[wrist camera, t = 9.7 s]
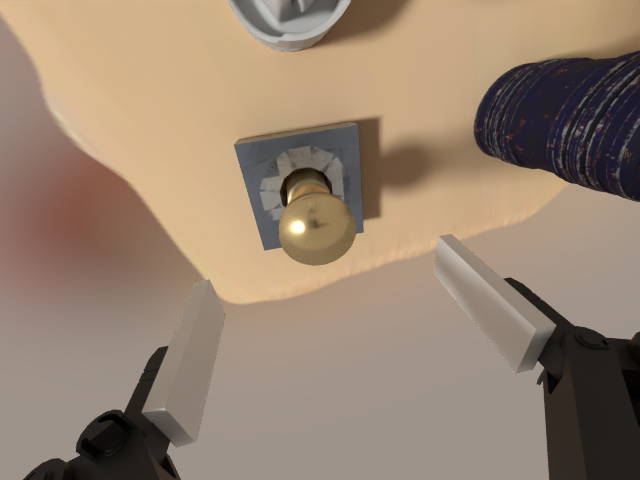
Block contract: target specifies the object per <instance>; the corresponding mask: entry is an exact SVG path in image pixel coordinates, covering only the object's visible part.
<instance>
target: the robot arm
mask: <svg viewBox="0 0 640 480" xmlns="http://www.w3.org/2000/svg"><path fill="white" fill-rule="evenodd" d="M434 275H435V276H436V277H437V278H438V279H439V281H440V282H441V283H442V284H443V286H444V287H445V288H446V289H447V290H448V292H449V293H450V294H451V295H452V296H453V298H454V299H455V300H456V301H457V303H458V304H459V305H460V306H461V307H462V309H463V310H464V311H465V312H466V314H467V315H468V316H469V317H470V318H471V319H472V321H473V322H474V323H475V325H476V326H477V327H478V328H479V329H480V331H481V332H482V333H483V334H484V336H485V337H486V338H487V339H488V340H489V342H490V343H491V344H492V345H493V346H494V348H495V349H496V350H497V351H498V353H499V354H500V355H501V356H502V357H503V359H504V360H505V361H506V362H507V364H508V365H509V366H510V367H511V368H512V370H513V371H514V372H515V373H519V372H524V371H528V370H533V368H534V367H535V365H536V363H537V361H539V362H540V363H541V365H543V367H544V370H543V372H542V373H541V375H540V376H539V378H538V381H537V384H538V385H540V384H541V383H542V381H543V388H544V404H545V420H546V436H547V452H548V467H549V480H640V332H638V333H636V334H635V335H634V337H633V338H632V339H631V340H628V339H616V338H606V337H604V336H603V335H601V334H599V333H598V332H596V331H594V330H591V329H588V328H585V327H579V326H574V325H573V324H571V323H570V322H569V321H568V320H566V319H565V318H564V317H563V316H561V315H560V314H559V313H558V312H556V311H555V310H554V309H553V308H552V307H551V306H549V305H548V304H547V303H546V302H544V301H543V300H541V299H540V297H538V296H537V295H536V294H535V293H532V291H531V290H530V289H529V288H527V287H526V286H525V285H524V284H522V283H520V282H518V281H516V280H514V279H512V278H505V279H503V278H501V277H500V276H499V275H498V274H497V273H496V272H494V271H493V270H492V269H491V268H490V267H489V266H487V265H486V264H485V263H484V262H483V261H482V260H481V259H479V258H478V257H477V256H476V255H475V254H474V253H473V252H471V251H470V250H469V249H468V248H467V247H466V246H464V245H463V244H462V243H461V242H460V241H459V240H458V239H456V238H455V237H454V236H453V235H452V234H450V235H444V236H439V238H438V245H437V253H436V260H435V269H434ZM224 319H225V312H224V310H223V308H222V305H221V303H220V301H219V299H218V297H217V294H216V292H215V290H214V288H213V286H212V284H211V281H210V280H204V281H199V282H195V285H194V287H193V290H192V292H191V295H190V297H189V299H188V302H187V304H186V306H185V309H184V311H183V314H182V316H181V318H180V321H179V323H178V326H177V328H176V331H175V333H174V336H173V338H172V340H171V343H170V345H169V346H166V347H161V348H158V349H157V350H156V352H155V353H154V354H153V355H152V356H151V358H150V359H149V360H148V363H147V365H146V367H145V369H144V373H142V376H141V378H140V380H139V383H138V384H137V386H136V388H135V390H134V393H133V395H132V397H131V399H130V401H129V403H128V405H127V408H126V410H125V412H124V413H123V412H122V411H121V410H111V411H107V412H105V413H103V414H102V415H100V416H99V417H97V418H96V419H94V420H93V421H92V422H91V423H90V424H89V425H88V426H87V427H86V429H85V430H84V431H83V432H82V434H81V435H80V437H79V439H78V442H77V445H76V452H77V453H79V454H80V456H78V457H76V458H74V459H72V460H70V461H69V462H67V463H66V462H64V461H63V460H61V459H60V458H56V459H51V460H48V461H46V462H44V463H42V464H40V465H39V466H38V467H36V468H35V469H34V470H32V471H31V472H30V473H29V474H28V475H27V476H26V477H25V478H24V479H23V480H181V479H180V477H179V475H178V473H177V470H176V468H175V466H174V464H173V462H172V460H171V458H170V456H169V455H168V454H167V449H168V446H169V443H170V442H172V444H174V446H176V447H180V446H185V445H190V444H194V443H196V442H197V437H198V433H199V429H200V424H201V420H202V416H203V411H204V407H205V403H206V398H207V394H208V389H209V385H210V381H211V376H212V372H213V367H214V363H215V359H216V354H217V349H218V345H219V341H220V336H221V332H222V327H223V323H224Z"/></svg>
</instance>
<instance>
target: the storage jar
mask: <svg viewBox="0 0 640 480" xmlns="http://www.w3.org/2000/svg"><path fill="white" fill-rule="evenodd" d="M474 136H475V140H476V143H477V145H478V147H479V148H480V149H481V150H482V151H483V152H484V153H485V154H487V155H489V156H492V157H495V158H499V159H501V160H502V161H504V162H507V163H510V164H513V165H517V166H520V167H525V168H530V169H542V170H545V171H549V172H552V173H554V174H555V175H557V176H558V177H559V178H562V179H563V180H565V181H567V182H570V183H574V184H578V185H580V186H583V187H586V188H589V189H592V190H596V191H601V192H607V193H610V194H614V195H618V196H620V197H623V198H626V199H629V200H632V201H636V202H640V51H636V52H633V53H628V54H625V55H622V56H620V57H617V58H608V59H597V60H594V59H590V58H571V59H554V60H547V61H543V62H540V63H529V64H523V65H520V66H517V67H514V68H513V69H511V70H509V71H507V72H506V73H505V74H503V75H502V76H501V77H499V78H498V79H497V80H496V81H495V82H494V83H493V85H492V86H491V87H490V88H489V89H488V91H487V92H486V94H485V95H484V97H483V99H482V101H481V102H480V105H479V107H478V110H477V112H476V116H475V121H474Z"/></svg>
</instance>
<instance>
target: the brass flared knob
mask: <svg viewBox="0 0 640 480" xmlns="http://www.w3.org/2000/svg"><path fill="white" fill-rule="evenodd" d="M287 200H288V205H287V206H286V207H285V209H284V210H283V212H282V214H281V217H280V221H279V239H280V243H281V245H282V247H283V249H284V251H285V252H286V253H287V254H288V255H289V256H290V257H291V258H292V259H294V260H296V261H298V262H300V263H303V264H307V265H324V264H328V263H331V262H333V261H335V260H337V259H339V258H340V257H341V256H343V255H344V254H345V253H346V252H347V251H348V250H349V248H350V247H351V245H352V244H353V241H354V239H355V235H356V223H355V219H354V217H353V215H352V213H351V211H350V209H349V208H348V206H347V205H346V203H345V202H344V201H343V200H342V199H340V198H339V197H337V196H336V195H333V194H331V193H330V191H329V189H328V187H327V185H326V183H325V180H324V178H323V176H322V174H321V173H320V172H319V171H318V170H317V169H314V168H312V167H305V168H299V169H295V170H294V171H292V172H291V173H290V174H289V176H288V178H287Z"/></svg>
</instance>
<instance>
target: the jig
mask: <svg viewBox="0 0 640 480" xmlns="http://www.w3.org/2000/svg"><path fill="white" fill-rule="evenodd" d="M234 147H235V150H236V154H237V157H238V161H239V164H240V168H241V171H242V174H243V178H244V181H245V185H246V188H247V192H248V195H249V199H250V202H251V206H252V209H253V212H254V216H255V219H256V223H257V226H258V230H259V233H260V237H261V240H262V244H263V247H264V250H270V249H275V248H281V247H282V245H281V243H280V239H279V221H280V217H281V214H282V212H283V210H284V209H285V207H286V206H287V205H288V201H287V200H286V199H285V198H284V197H283V196H282V193H281V186H282V183H283V180H284V178H285V177H286V176H288V175H289V174H290V173H291V172H292V171H294V170H295V169H299V168H305V167H312V168H314V169H317V170H320V171H322V172H324V174H325V175H326V176H327V178H328V189H329V191H330V193H331V194H333V195H336V196H337V197H339V198H340V199H342V200H343V201H344V202H345V203H346V205H347V206H348V208H349V209H350V211H351V213H352V215H353V217H354V219H355V223H356V234H357V233H362V232H364V229H363V209H362V189H361V169H360V148H359V128H358V124H356V123H353V122H344V123H338V124H332V125H326V126H320V127H313V128H307V129H301V130H295V131H289V132H282V133H276V134H270V135H264V136H258V137H251V138H245V139H239V140H238V141H237V142H236V143H235V144H234Z"/></svg>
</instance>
